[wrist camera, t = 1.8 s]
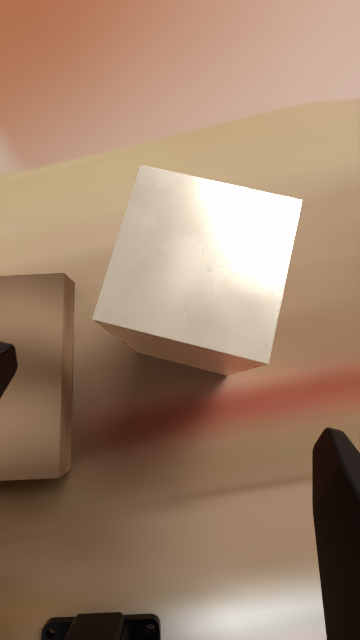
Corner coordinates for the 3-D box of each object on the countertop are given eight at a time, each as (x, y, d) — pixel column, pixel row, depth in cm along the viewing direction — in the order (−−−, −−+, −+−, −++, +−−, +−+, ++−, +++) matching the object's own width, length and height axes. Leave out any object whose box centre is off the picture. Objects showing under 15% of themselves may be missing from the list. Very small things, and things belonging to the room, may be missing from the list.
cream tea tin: (227, 375, 22) (268, 363, 11) (137, 352, 22) (92, 319, 11) (246, 289, 23) (302, 200, 12) (161, 268, 23) (140, 164, 12)
